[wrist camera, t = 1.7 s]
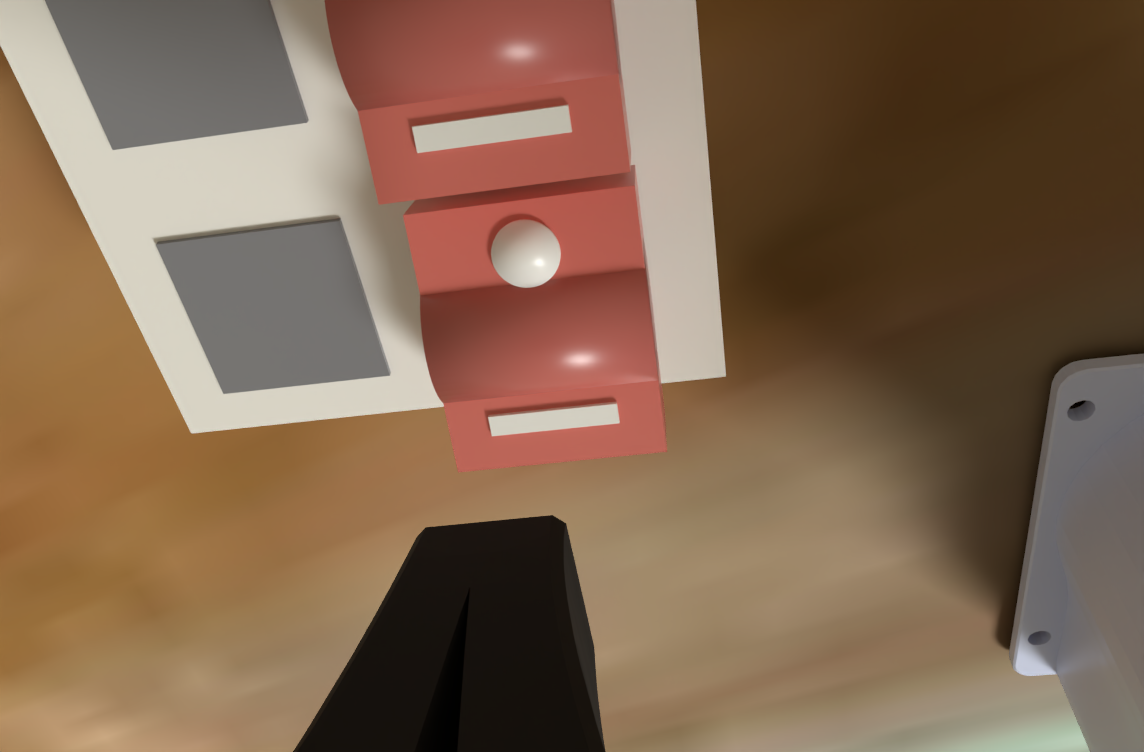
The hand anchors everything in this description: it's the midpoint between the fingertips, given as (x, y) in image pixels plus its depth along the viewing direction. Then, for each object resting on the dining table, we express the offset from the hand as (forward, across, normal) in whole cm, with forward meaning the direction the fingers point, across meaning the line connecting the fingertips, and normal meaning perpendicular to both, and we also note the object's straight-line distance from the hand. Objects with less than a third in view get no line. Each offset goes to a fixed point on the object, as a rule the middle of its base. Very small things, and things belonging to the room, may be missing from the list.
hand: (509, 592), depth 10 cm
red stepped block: (+5, 0, -4) cm, 7 cm away
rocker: (+5, 0, 0) cm, 5 cm away
